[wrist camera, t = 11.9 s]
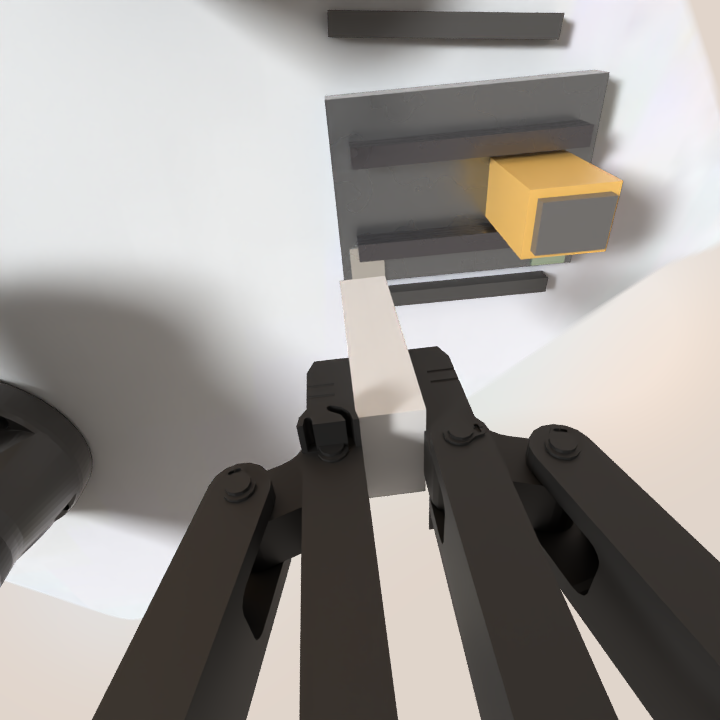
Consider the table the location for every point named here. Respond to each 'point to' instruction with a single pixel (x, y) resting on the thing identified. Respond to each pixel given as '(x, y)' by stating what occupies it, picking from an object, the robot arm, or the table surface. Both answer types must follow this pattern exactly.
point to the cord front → (444, 24)
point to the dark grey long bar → (468, 288)
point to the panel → (445, 167)
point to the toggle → (551, 203)
